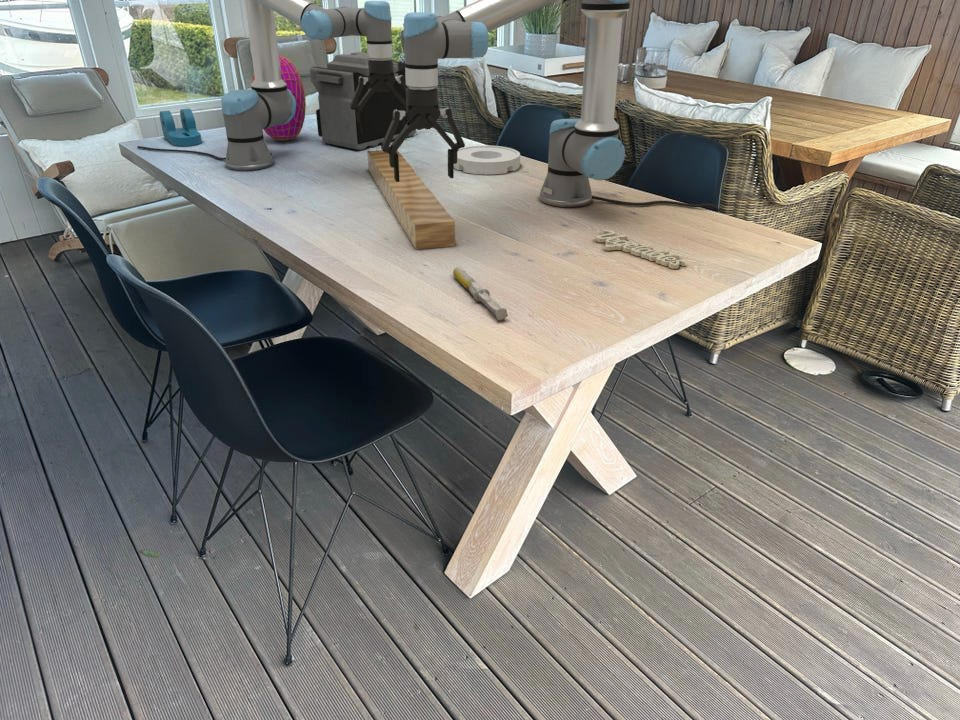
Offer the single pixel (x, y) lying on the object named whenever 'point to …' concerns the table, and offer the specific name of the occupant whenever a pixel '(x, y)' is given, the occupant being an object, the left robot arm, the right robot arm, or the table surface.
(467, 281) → the syringe
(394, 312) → the table surface
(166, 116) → the camera mount
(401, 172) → the wooden beam
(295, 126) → the decorative egg
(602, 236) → the decorative sign
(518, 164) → the ashtray
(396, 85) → the electronic device
